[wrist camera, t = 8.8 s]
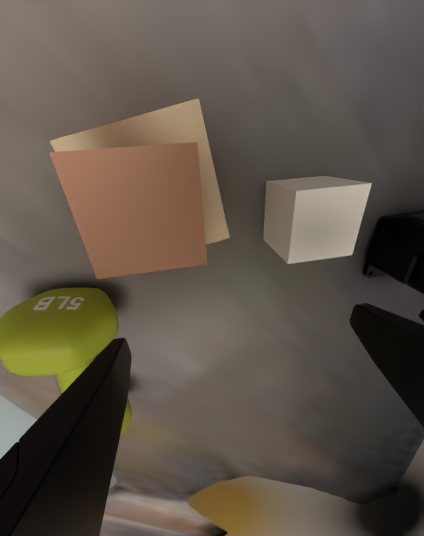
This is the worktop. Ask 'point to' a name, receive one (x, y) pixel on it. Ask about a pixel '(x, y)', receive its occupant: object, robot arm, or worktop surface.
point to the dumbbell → (59, 334)
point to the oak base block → (157, 133)
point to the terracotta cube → (136, 206)
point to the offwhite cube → (313, 217)
